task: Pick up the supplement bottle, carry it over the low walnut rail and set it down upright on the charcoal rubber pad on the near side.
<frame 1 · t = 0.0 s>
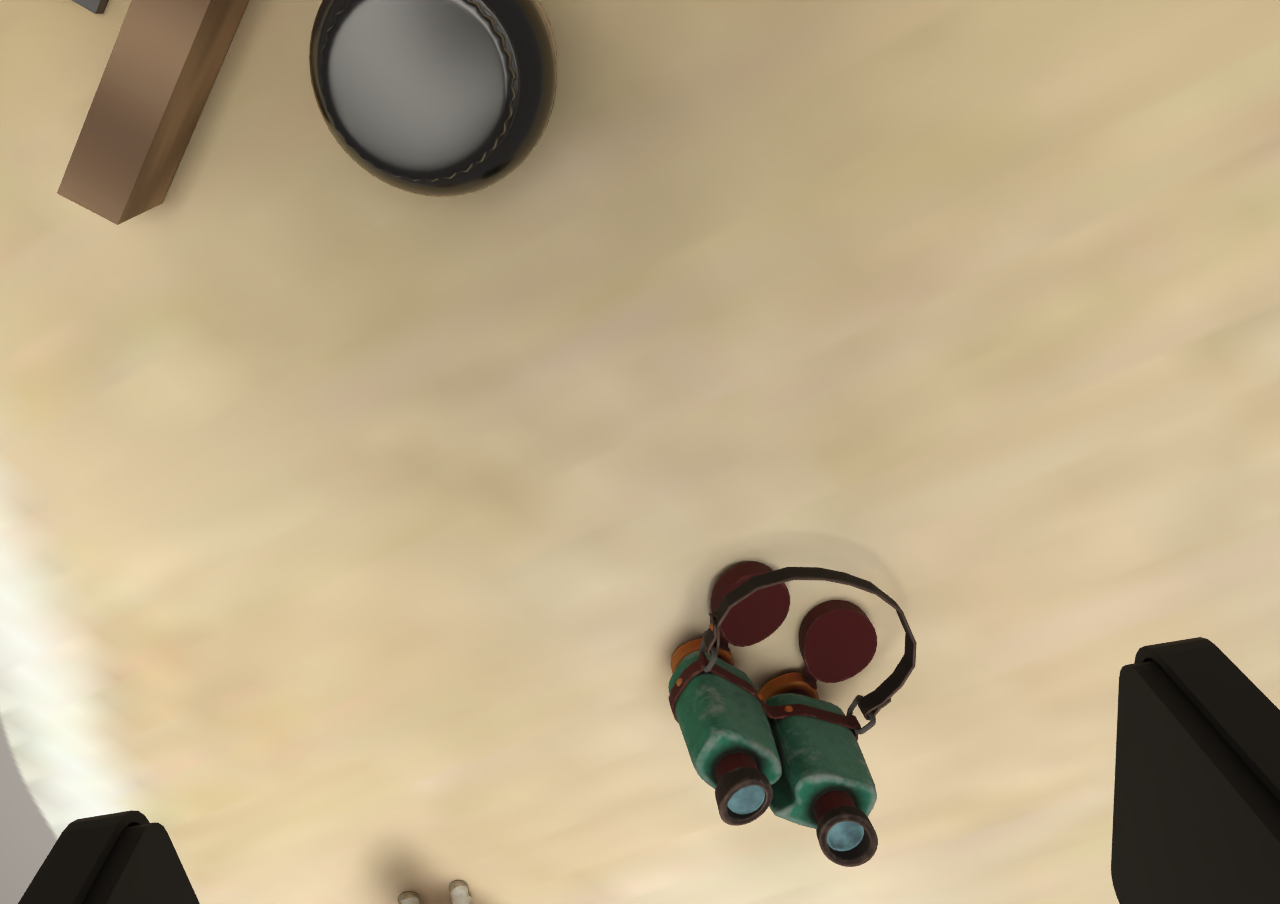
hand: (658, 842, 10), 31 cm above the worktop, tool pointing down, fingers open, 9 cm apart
supplement bottle: (462, 57, 36), on the worktop
binoculars: (774, 621, 47), on the worktop
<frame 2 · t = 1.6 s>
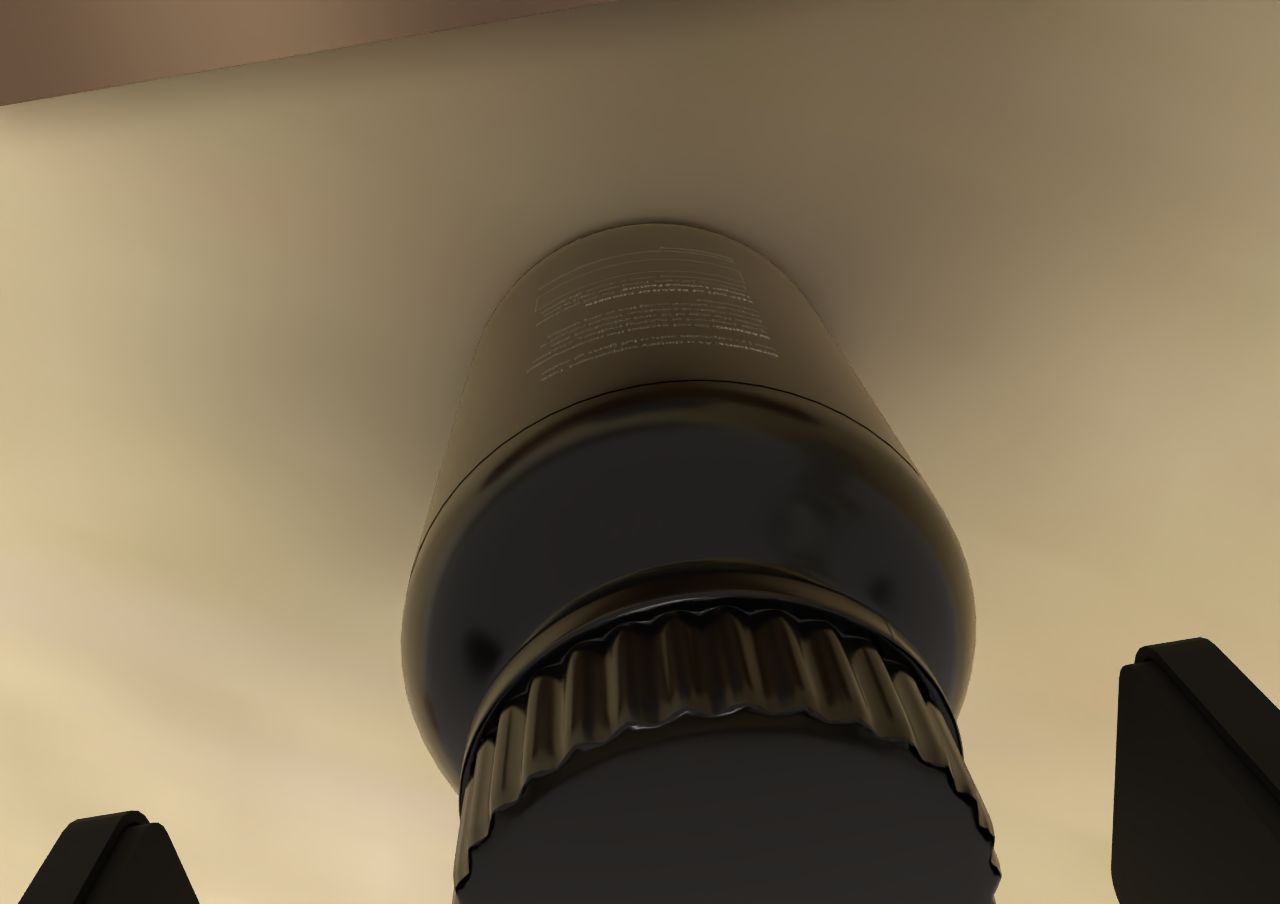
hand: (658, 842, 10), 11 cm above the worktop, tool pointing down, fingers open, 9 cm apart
supplement bottle: (653, 392, 20), on the worktop
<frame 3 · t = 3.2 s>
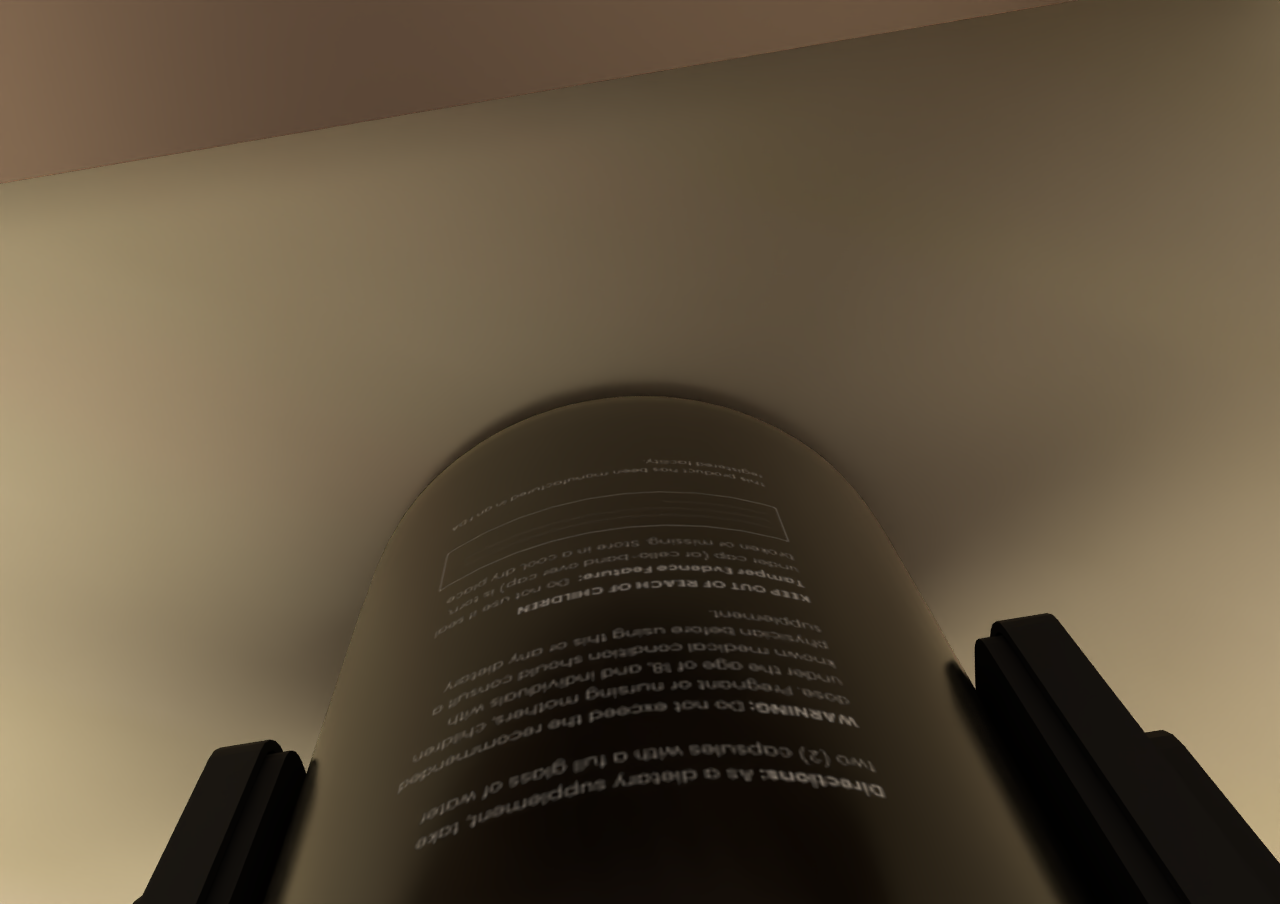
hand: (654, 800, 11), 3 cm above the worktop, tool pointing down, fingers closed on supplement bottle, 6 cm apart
supplement bottle: (637, 615, 14), on the worktop, touching gripper
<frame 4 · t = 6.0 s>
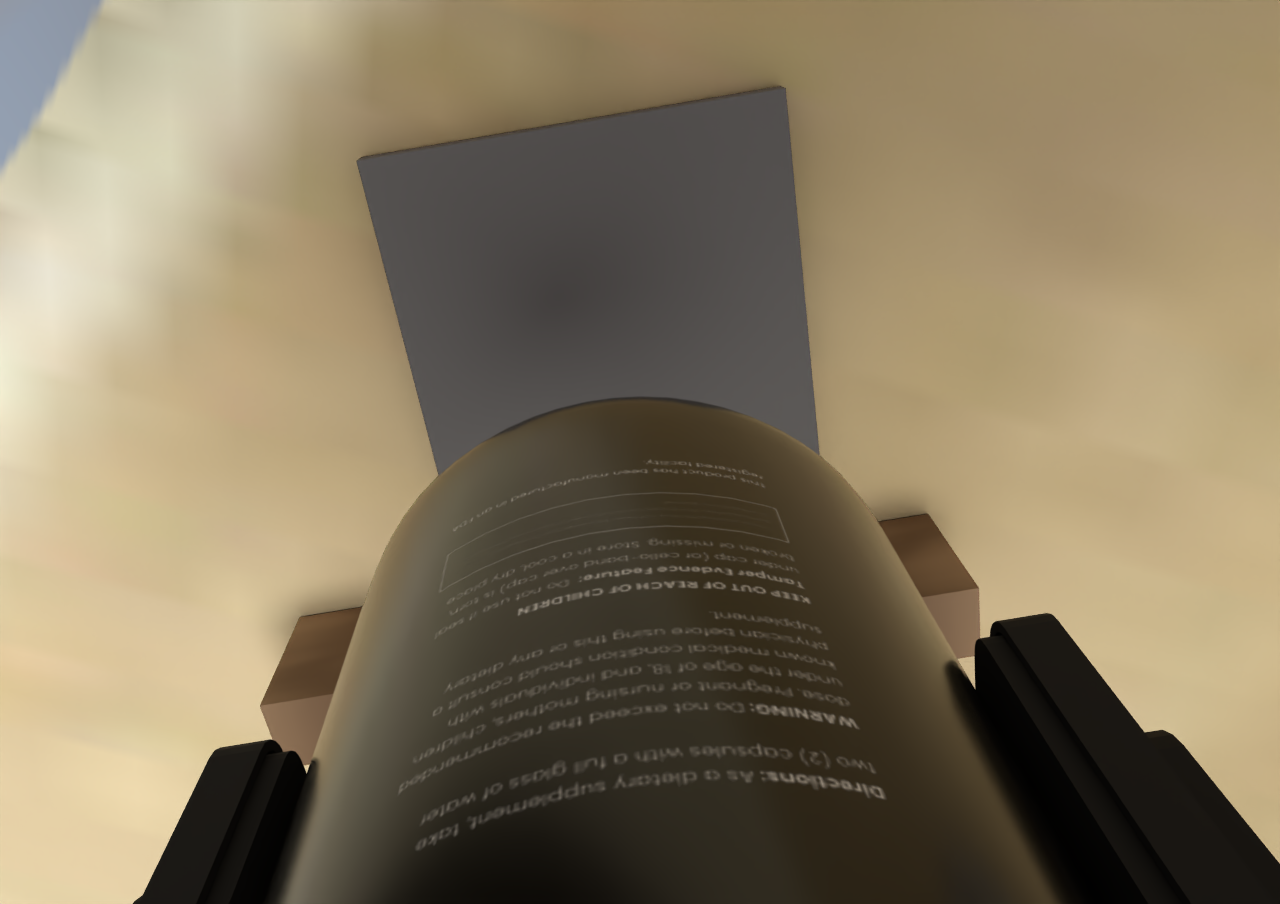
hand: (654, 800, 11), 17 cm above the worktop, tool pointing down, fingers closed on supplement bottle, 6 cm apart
supplement bottle: (637, 615, 14), point 14 cm above the worktop, touching gripper
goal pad: (606, 324, 26), on the worktop
walnut rail: (618, 595, 29), on the worktop
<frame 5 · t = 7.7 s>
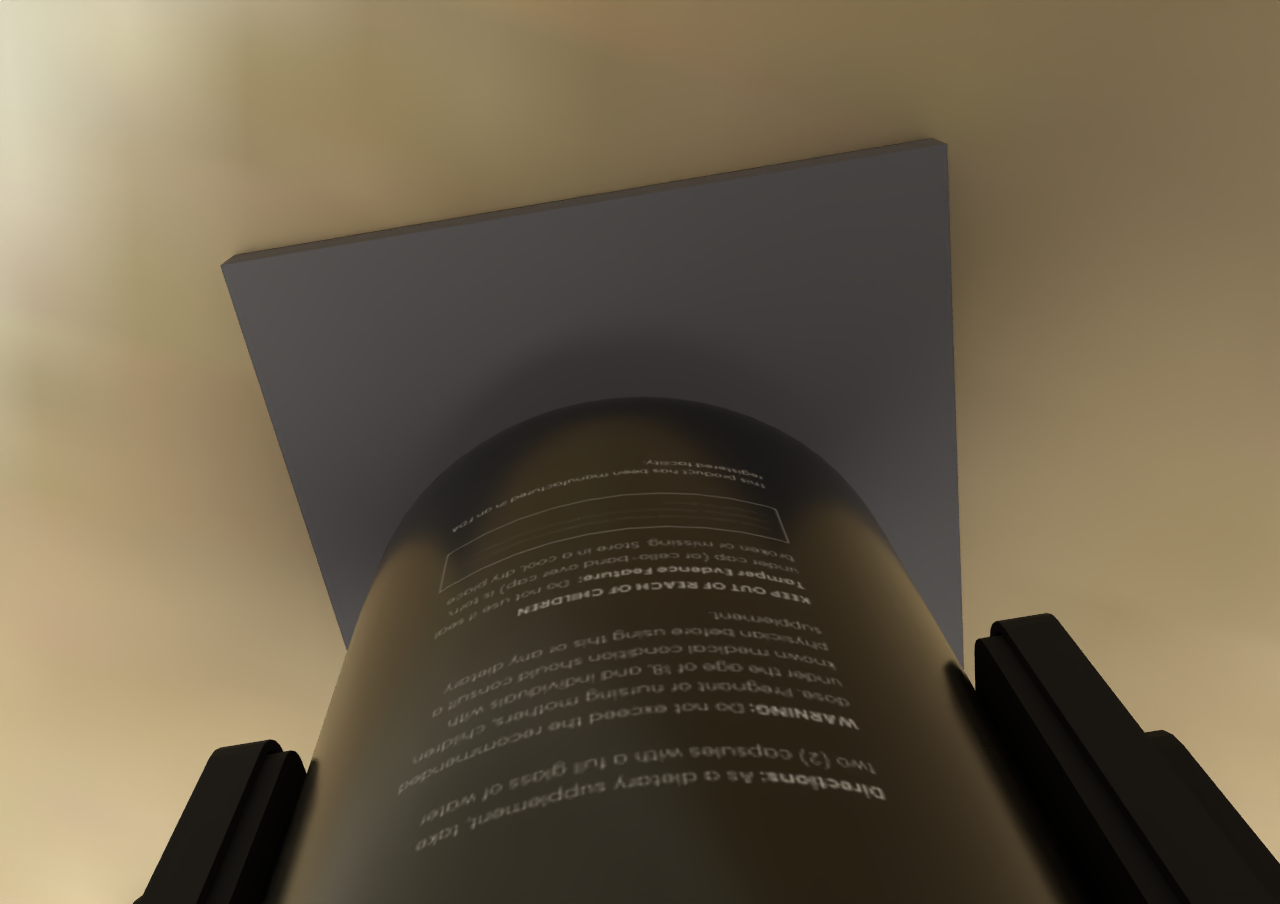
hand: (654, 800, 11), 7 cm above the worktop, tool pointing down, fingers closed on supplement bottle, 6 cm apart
supplement bottle: (637, 616, 14), point 3 cm above the worktop, touching gripper
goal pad: (636, 508, 17), on the worktop
when the fingers open (5 cm above the worktop, at t = 9.1 s): supplement bottle stays where it is, resting on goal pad.
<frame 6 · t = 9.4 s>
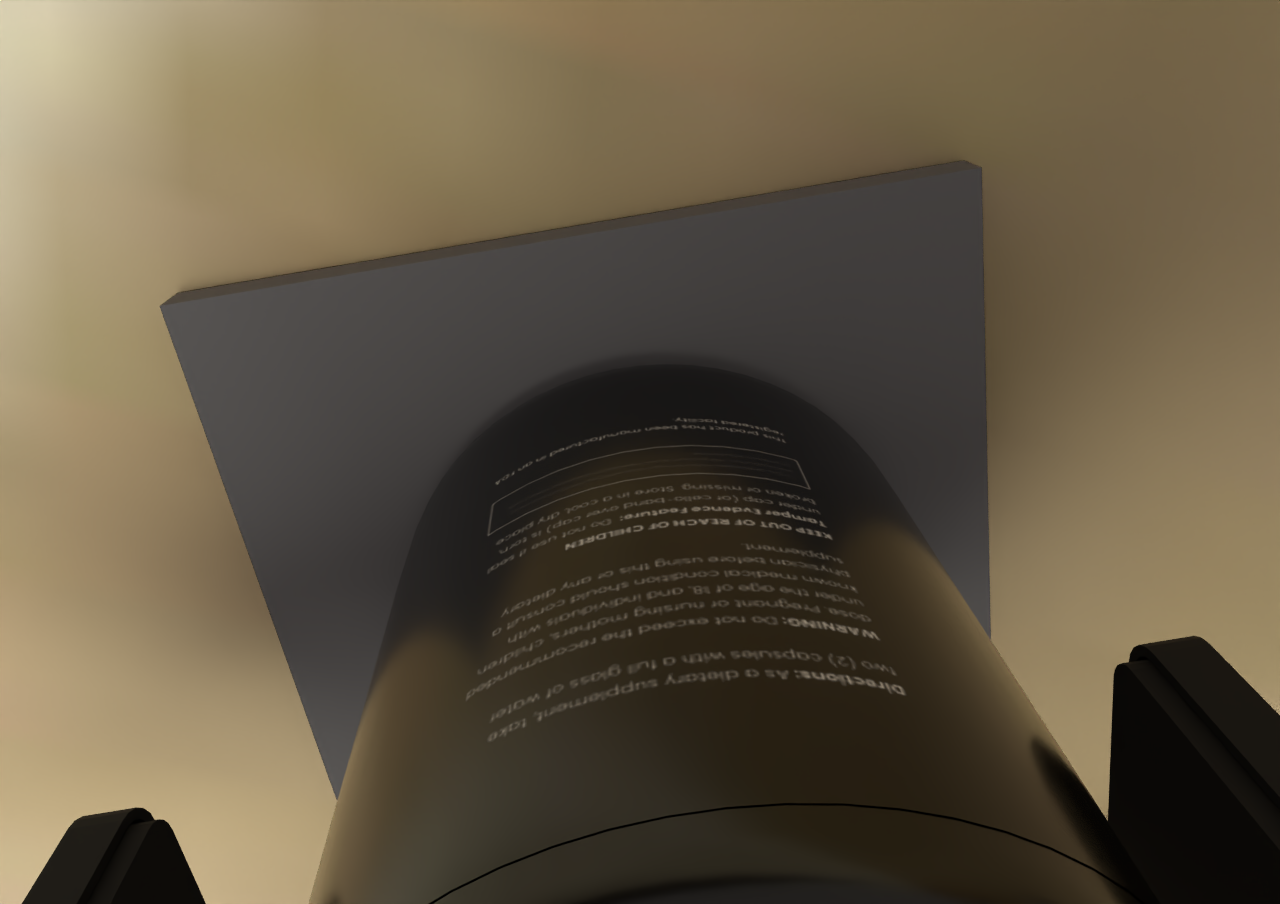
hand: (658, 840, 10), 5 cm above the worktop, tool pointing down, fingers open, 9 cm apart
supplement bottle: (659, 576, 15), resting on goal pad
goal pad: (631, 568, 15), on the worktop
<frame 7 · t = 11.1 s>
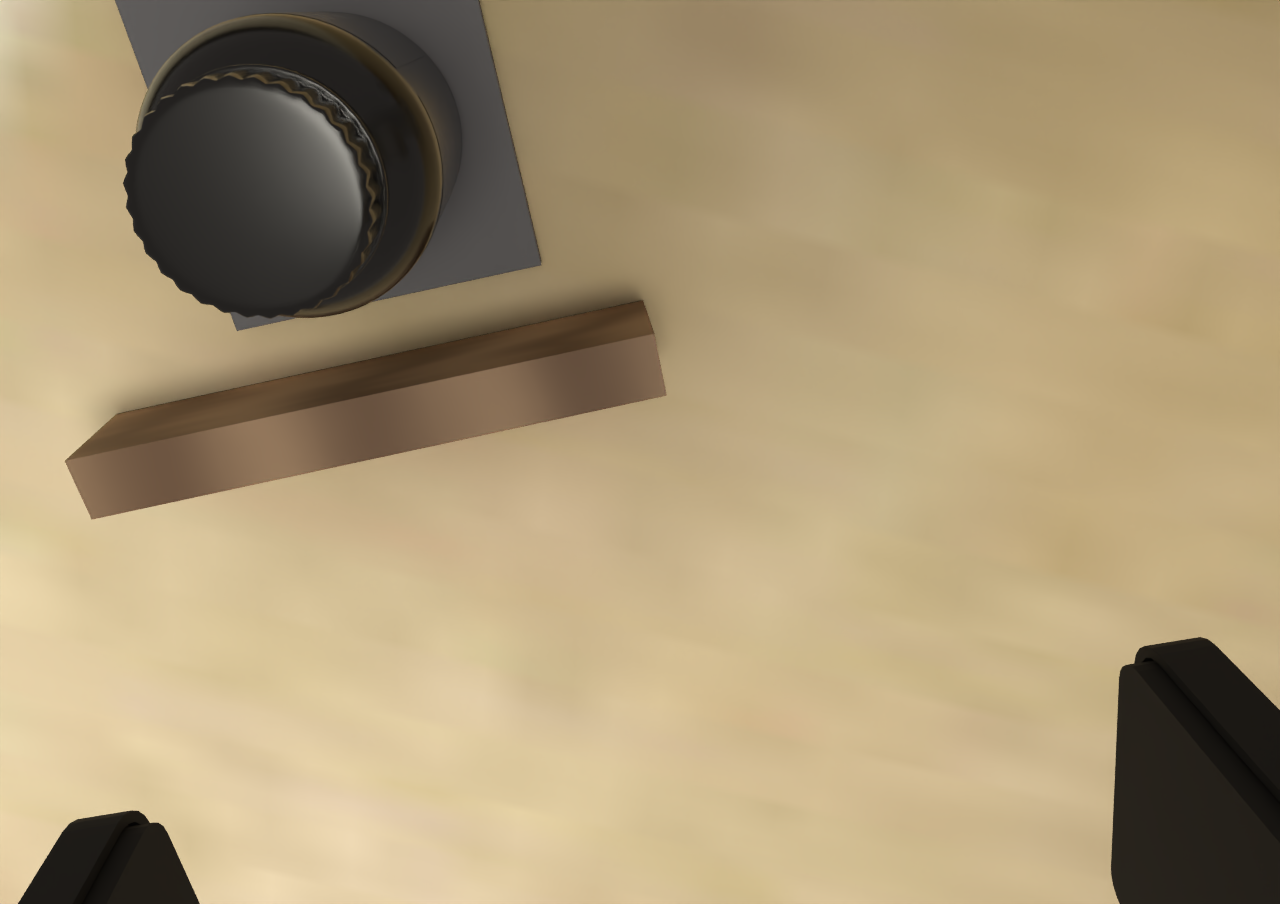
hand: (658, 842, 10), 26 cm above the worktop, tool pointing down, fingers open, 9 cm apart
supplement bottle: (353, 135, 31), resting on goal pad
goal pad: (344, 137, 32), on the worktop
walnut rail: (388, 384, 35), on the worktop
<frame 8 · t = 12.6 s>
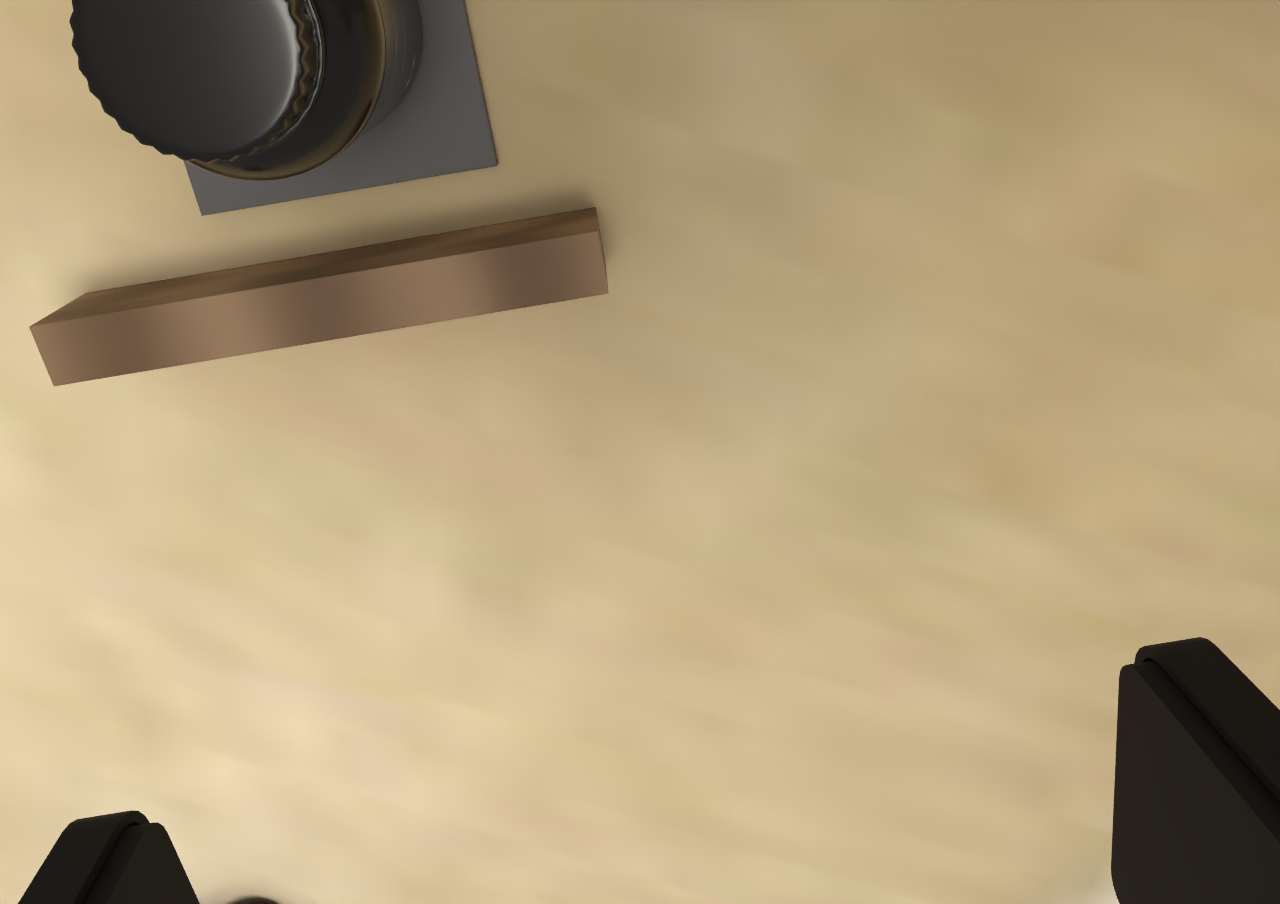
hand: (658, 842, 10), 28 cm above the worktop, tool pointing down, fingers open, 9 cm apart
supplement bottle: (319, 27, 32), resting on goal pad
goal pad: (310, 30, 33), on the worktop
walnut rail: (347, 278, 36), on the worktop
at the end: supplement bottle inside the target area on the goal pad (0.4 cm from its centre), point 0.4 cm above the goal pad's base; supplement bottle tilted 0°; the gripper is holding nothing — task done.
